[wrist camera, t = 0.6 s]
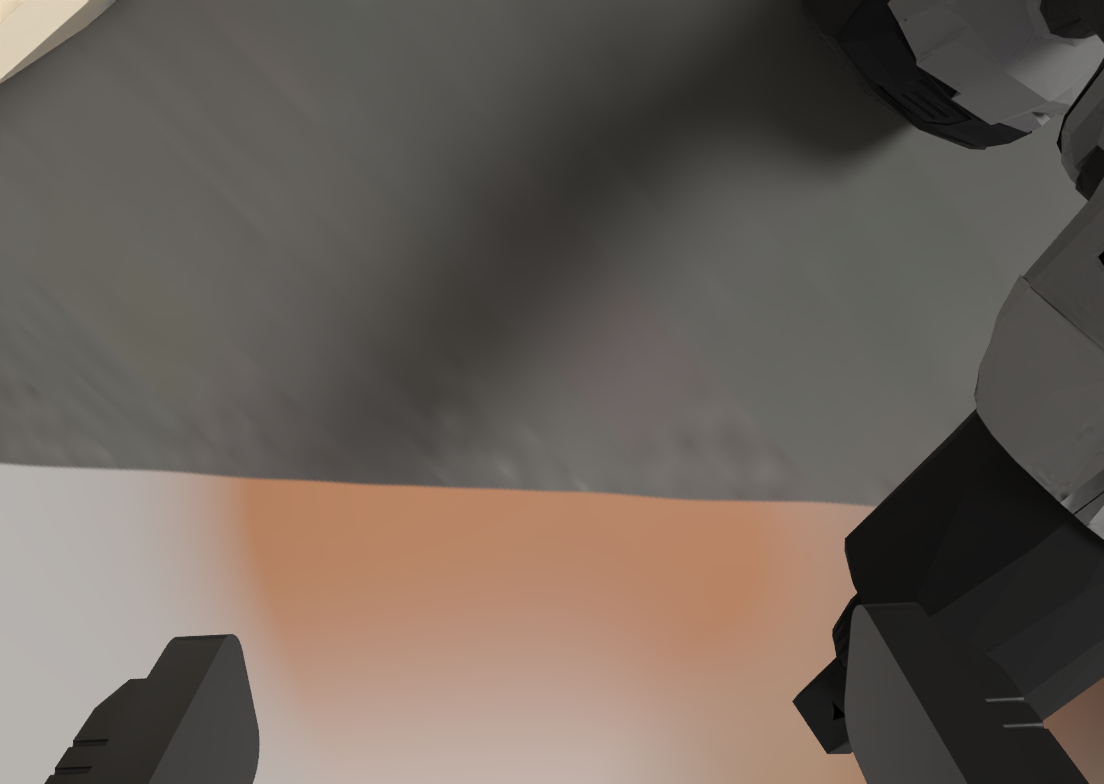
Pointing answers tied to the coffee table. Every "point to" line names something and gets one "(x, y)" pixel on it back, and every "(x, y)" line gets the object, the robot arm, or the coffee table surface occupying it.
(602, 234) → the coffee table surface
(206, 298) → the coffee table surface
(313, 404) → the coffee table surface
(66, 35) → the dock
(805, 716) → the cordless drill
